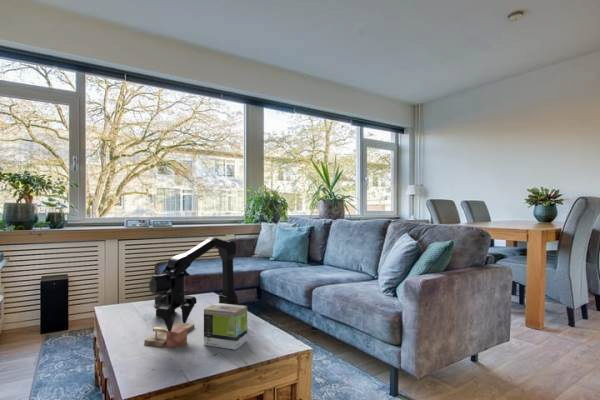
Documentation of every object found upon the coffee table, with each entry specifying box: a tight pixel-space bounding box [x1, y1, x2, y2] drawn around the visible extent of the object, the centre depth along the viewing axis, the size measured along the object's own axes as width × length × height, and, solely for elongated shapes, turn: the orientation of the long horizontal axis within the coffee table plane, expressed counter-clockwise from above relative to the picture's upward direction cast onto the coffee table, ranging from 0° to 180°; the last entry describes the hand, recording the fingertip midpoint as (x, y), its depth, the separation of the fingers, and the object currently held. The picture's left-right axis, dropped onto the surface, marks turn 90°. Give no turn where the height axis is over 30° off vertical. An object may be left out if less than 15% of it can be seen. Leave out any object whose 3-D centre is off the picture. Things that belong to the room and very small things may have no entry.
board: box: [143, 321, 195, 348], centre depth 144 cm, size 9×21×2 cm, turn 163°
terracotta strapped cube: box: [152, 326, 188, 349], centre depth 136 cm, size 14×5×6 cm, turn 73°
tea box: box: [203, 302, 248, 350], centre depth 137 cm, size 15×10×15 cm
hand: (177, 327), depth 135 cm, fingers open, 9 cm apart
